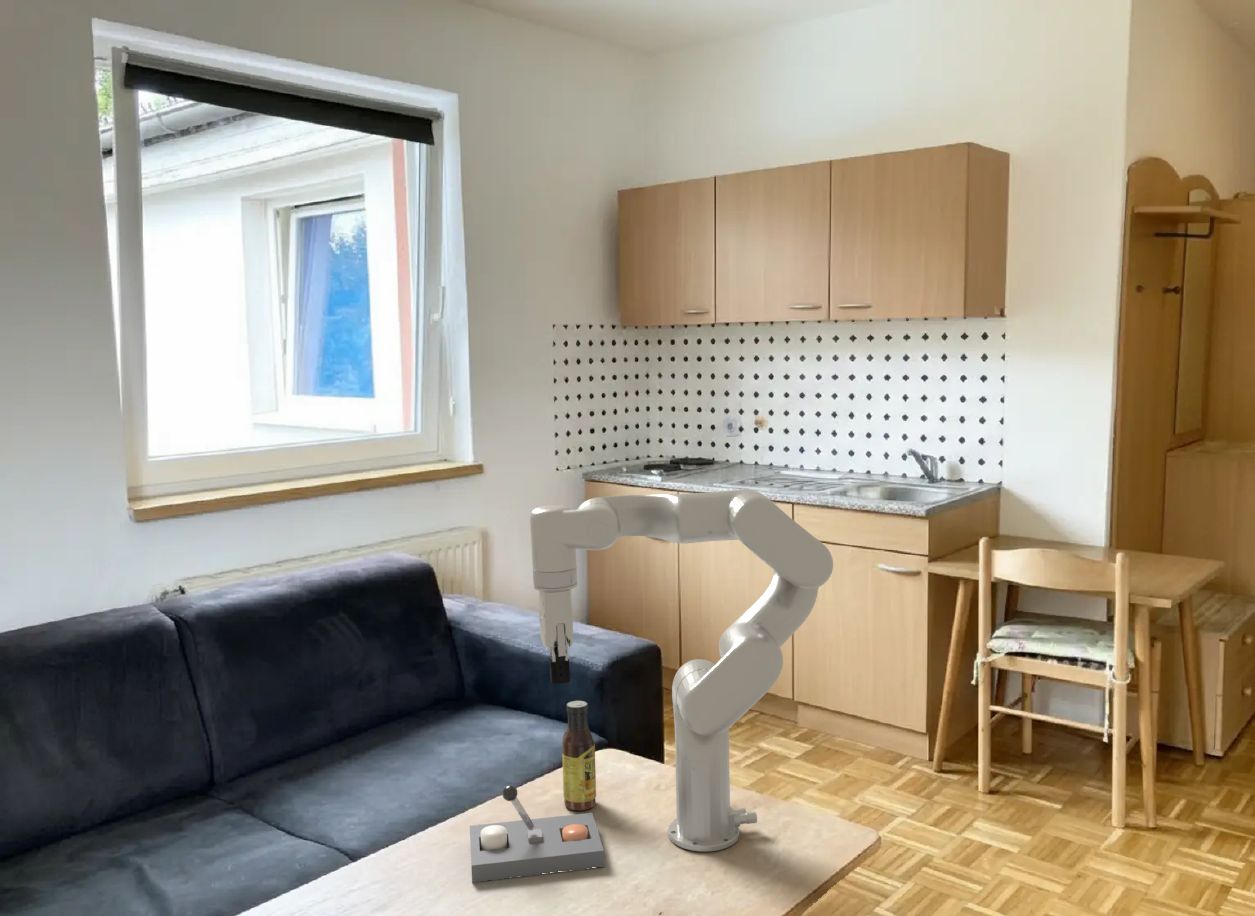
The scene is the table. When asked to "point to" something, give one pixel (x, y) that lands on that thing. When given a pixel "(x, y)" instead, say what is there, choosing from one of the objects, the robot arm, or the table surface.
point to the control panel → (536, 849)
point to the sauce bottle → (578, 759)
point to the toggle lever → (517, 805)
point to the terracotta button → (574, 832)
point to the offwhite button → (493, 837)
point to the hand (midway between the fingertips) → (560, 681)
